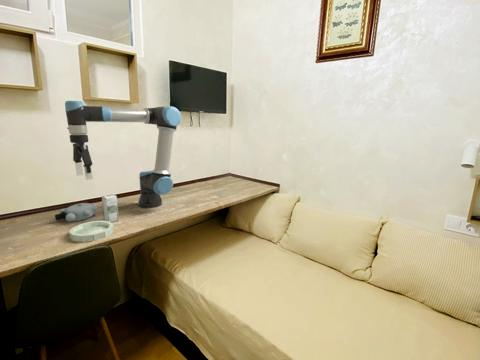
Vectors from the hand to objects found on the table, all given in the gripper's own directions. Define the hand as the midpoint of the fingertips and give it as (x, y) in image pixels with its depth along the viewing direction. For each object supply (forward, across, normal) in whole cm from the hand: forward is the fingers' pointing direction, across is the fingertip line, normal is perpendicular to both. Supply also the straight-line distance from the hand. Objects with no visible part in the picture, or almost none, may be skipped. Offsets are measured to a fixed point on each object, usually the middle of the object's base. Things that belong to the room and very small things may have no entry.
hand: (84, 177), depth 126 cm
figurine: (+27, -18, -2) cm, 32 cm away
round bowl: (+26, +10, -3) cm, 28 cm away
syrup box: (+27, -1, +10) cm, 29 cm away
